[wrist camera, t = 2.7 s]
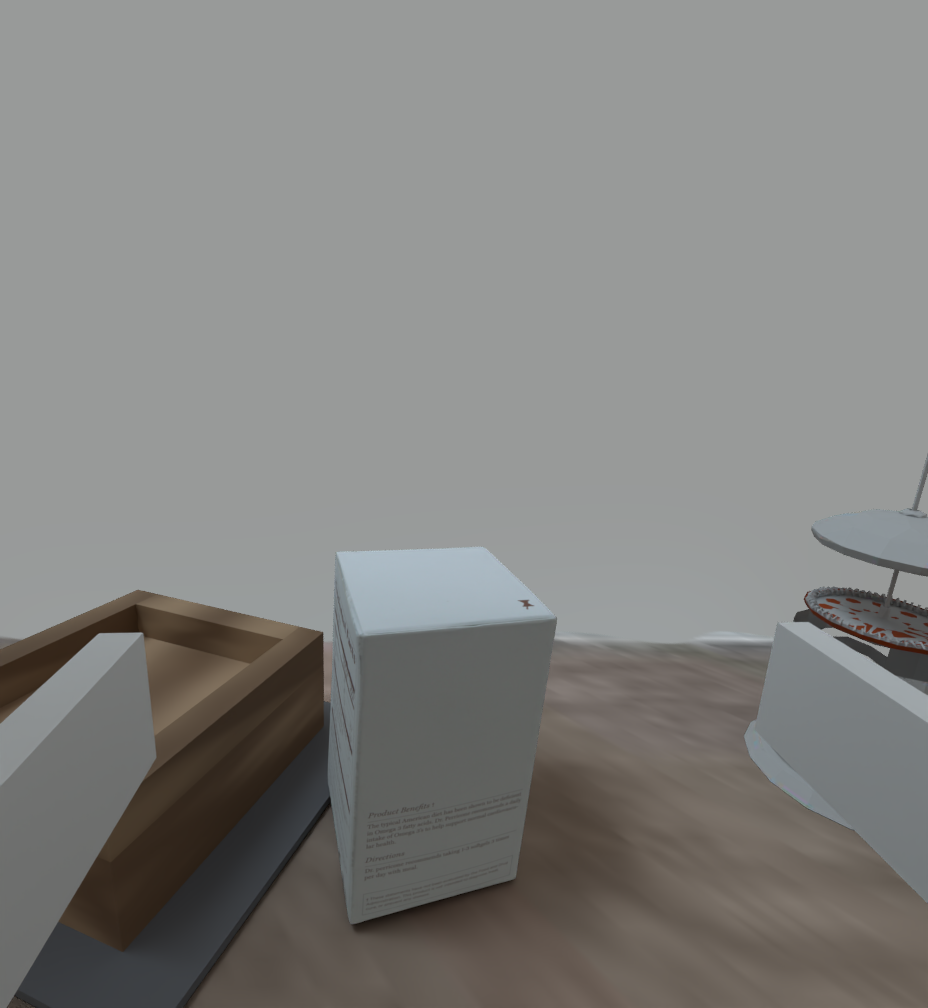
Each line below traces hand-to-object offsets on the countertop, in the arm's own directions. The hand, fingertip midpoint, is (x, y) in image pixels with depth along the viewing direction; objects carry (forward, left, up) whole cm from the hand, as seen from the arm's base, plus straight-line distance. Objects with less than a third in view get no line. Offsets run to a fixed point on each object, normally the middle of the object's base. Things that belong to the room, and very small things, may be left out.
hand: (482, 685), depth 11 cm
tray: (-19, +7, -14) cm, 25 cm away
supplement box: (-5, +9, -15) cm, 18 cm away
